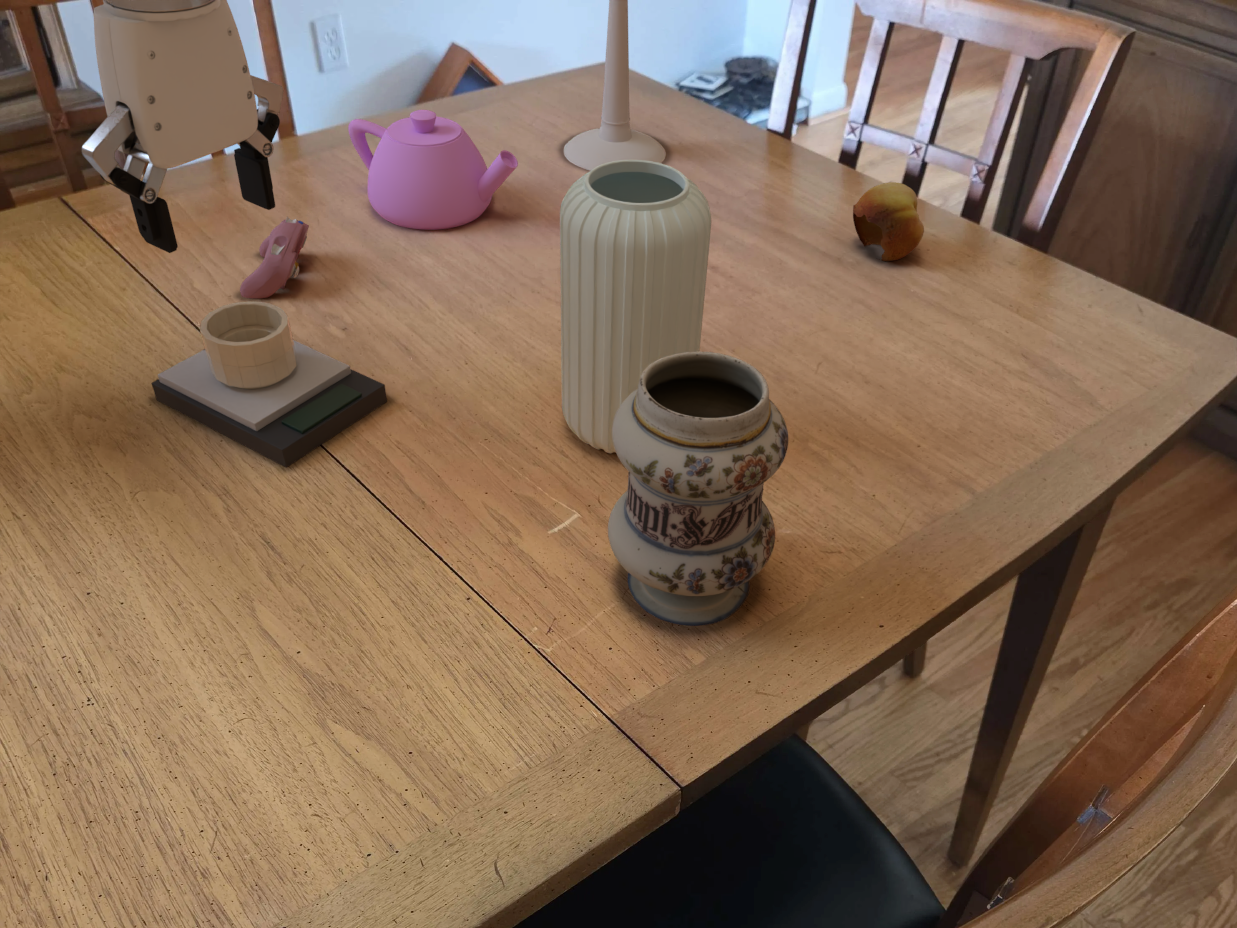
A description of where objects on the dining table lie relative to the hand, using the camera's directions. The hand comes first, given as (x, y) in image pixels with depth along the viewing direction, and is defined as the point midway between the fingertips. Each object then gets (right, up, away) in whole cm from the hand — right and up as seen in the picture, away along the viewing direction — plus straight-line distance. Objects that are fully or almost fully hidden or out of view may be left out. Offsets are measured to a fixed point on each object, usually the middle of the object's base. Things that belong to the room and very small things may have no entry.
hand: (212, 224), depth 86 cm
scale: (+1, -12, +11) cm, 16 cm away
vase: (+33, -14, +11) cm, 37 cm away
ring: (0, -9, +9) cm, 13 cm away
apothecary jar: (+37, -29, -3) cm, 47 cm away
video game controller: (-3, +4, +26) cm, 27 cm away
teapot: (+11, +16, +39) cm, 43 cm away
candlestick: (+31, +27, +51) cm, 65 cm away
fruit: (+60, +9, +35) cm, 71 cm away
